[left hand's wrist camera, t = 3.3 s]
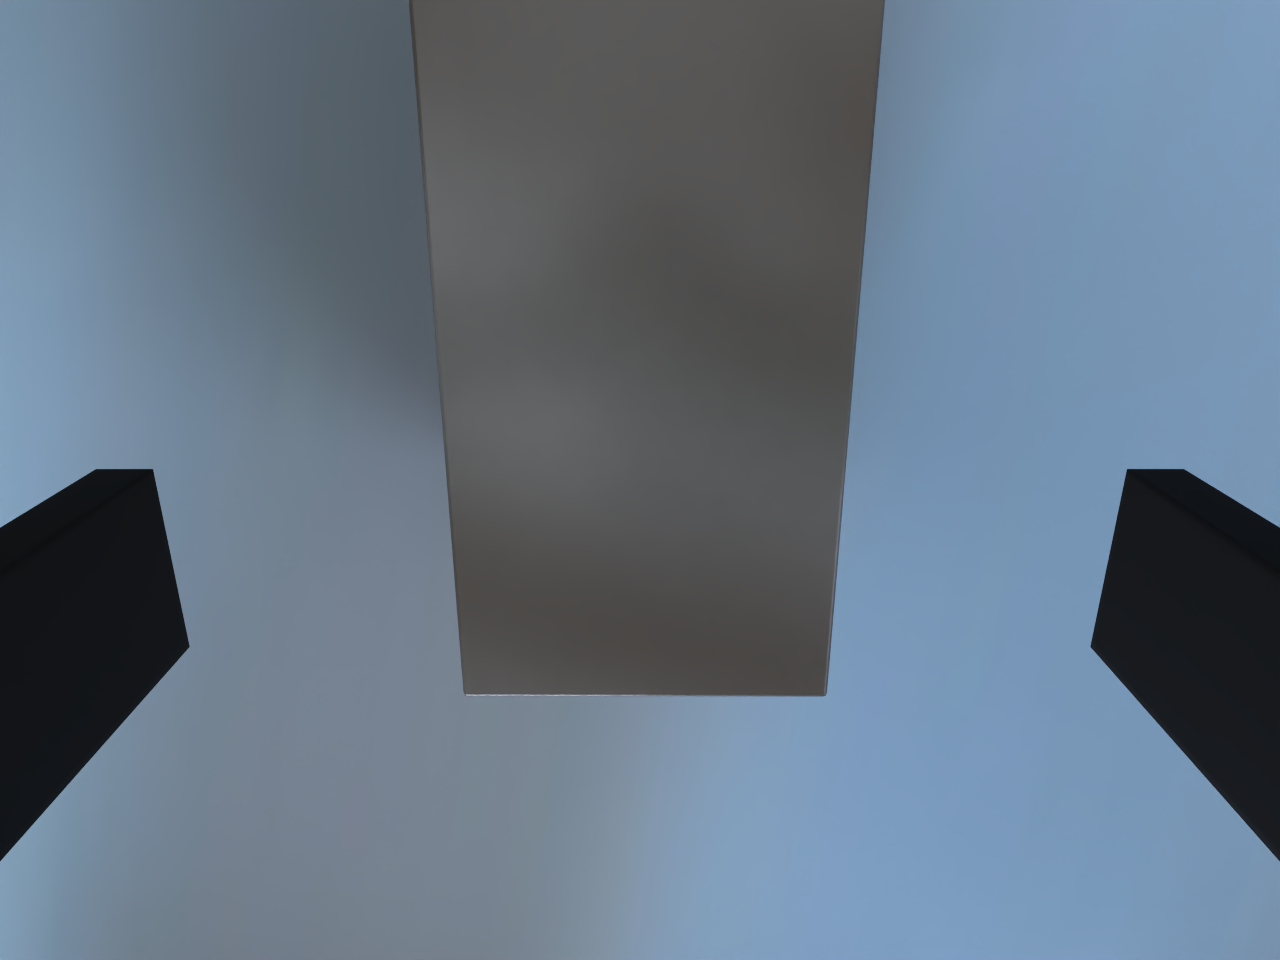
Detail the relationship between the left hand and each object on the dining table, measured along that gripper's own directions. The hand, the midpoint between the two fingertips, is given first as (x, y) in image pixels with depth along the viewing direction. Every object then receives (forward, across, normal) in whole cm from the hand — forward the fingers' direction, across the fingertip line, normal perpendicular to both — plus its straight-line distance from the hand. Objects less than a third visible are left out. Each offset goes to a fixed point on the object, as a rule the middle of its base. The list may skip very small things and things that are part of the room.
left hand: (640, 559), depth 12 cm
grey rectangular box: (+14, 0, -6) cm, 15 cm away
